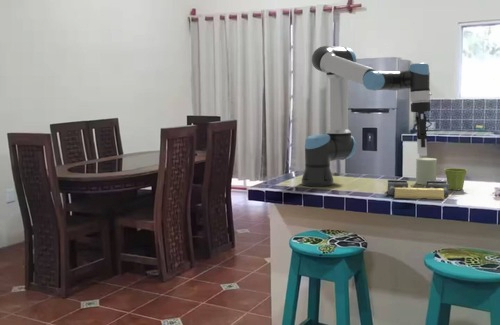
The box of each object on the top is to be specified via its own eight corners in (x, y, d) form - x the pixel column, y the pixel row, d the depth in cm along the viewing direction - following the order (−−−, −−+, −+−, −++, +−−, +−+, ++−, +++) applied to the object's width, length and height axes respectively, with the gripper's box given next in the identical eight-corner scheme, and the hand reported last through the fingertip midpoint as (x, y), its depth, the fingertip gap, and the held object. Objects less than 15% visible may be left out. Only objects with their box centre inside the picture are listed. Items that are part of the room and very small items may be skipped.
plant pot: (440, 187, 229) (441, 168, 228) (461, 187, 229) (462, 168, 228) (448, 191, 220) (448, 171, 219) (470, 190, 220) (471, 171, 218)
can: (414, 181, 246) (415, 156, 244) (434, 181, 244) (435, 156, 242) (416, 184, 237) (417, 159, 235) (437, 185, 235) (438, 159, 233)
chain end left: (388, 194, 214) (388, 183, 214) (387, 191, 223) (387, 179, 222) (407, 195, 212) (408, 183, 212) (406, 191, 221) (406, 180, 220)
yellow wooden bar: (394, 198, 208) (394, 188, 208) (394, 196, 212) (394, 187, 211) (443, 199, 204) (444, 190, 204) (442, 198, 207) (442, 188, 207)
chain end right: (428, 195, 211) (428, 184, 210) (426, 192, 219) (426, 180, 218) (448, 196, 209) (449, 184, 208) (445, 192, 217) (446, 181, 216)
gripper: (432, 100, 192) (434, 156, 194) (427, 102, 216) (429, 152, 218) (412, 101, 194) (414, 157, 196) (409, 103, 218) (411, 152, 220)
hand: (422, 154), depth 207 cm, fingers open, 13 cm apart
